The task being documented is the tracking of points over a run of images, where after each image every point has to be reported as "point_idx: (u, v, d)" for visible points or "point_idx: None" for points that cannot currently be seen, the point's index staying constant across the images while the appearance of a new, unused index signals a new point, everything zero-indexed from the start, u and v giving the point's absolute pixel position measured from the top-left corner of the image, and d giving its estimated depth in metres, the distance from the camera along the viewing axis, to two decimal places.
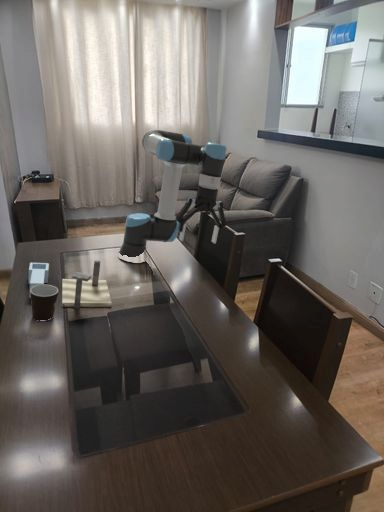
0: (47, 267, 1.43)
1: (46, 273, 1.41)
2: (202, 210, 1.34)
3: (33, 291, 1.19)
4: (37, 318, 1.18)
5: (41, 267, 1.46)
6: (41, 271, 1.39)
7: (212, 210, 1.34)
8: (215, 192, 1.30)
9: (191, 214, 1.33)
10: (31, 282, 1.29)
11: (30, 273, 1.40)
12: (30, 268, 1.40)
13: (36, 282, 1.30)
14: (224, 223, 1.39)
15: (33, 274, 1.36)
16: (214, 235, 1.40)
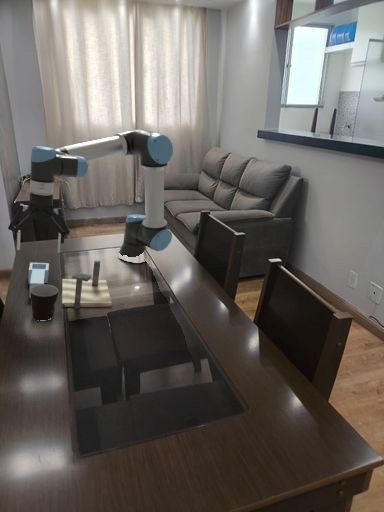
0: (47, 267, 1.43)
1: (46, 273, 1.41)
2: (37, 217, 1.26)
3: (33, 291, 1.19)
4: (37, 318, 1.18)
5: (41, 267, 1.46)
6: (41, 271, 1.39)
7: (48, 217, 1.26)
8: (46, 198, 1.22)
9: (24, 222, 1.25)
10: (31, 282, 1.29)
11: (30, 273, 1.40)
12: (30, 268, 1.40)
13: (36, 282, 1.30)
14: (66, 231, 1.31)
15: (33, 274, 1.36)
16: (58, 244, 1.32)
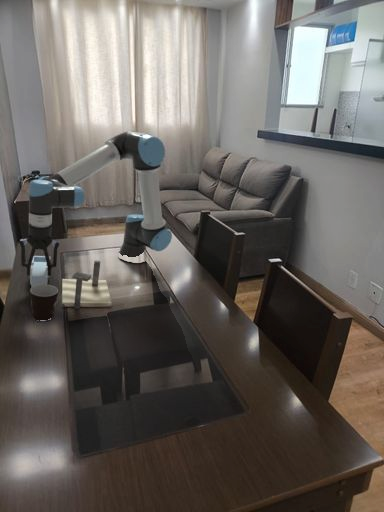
0: None
1: None
2: (36, 248, 1.30)
3: (33, 291, 1.19)
4: (37, 318, 1.18)
5: (43, 260, 1.45)
6: (42, 264, 1.39)
7: (44, 248, 1.30)
8: (45, 230, 1.26)
9: (31, 256, 1.30)
10: (33, 275, 1.29)
11: None
12: None
13: (38, 275, 1.30)
14: (54, 264, 1.34)
15: (34, 267, 1.35)
16: (45, 276, 1.36)
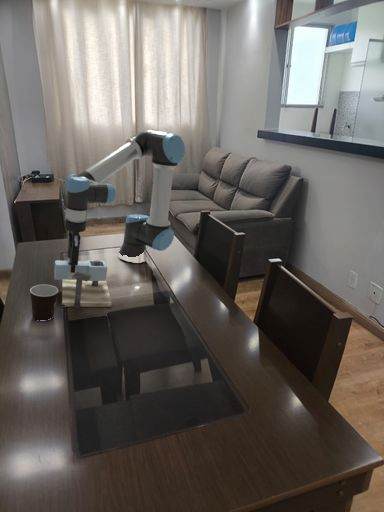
0: (96, 266, 1.40)
1: (88, 269, 1.40)
2: None
3: (33, 291, 1.19)
4: (37, 318, 1.18)
5: None
6: (84, 264, 1.40)
7: (69, 243, 1.34)
8: (66, 223, 1.31)
9: (69, 246, 1.39)
10: (57, 261, 1.38)
11: None
12: (89, 260, 1.45)
13: (57, 262, 1.37)
14: (70, 261, 1.33)
15: None
16: None
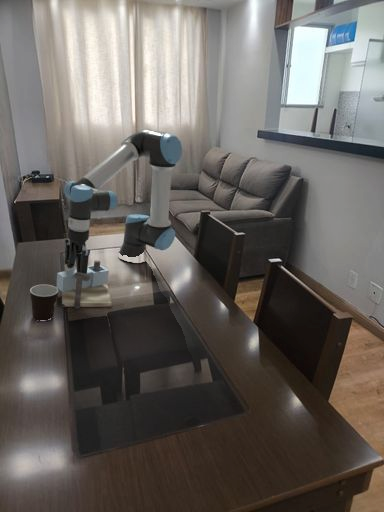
0: (99, 271, 1.42)
1: (92, 275, 1.40)
2: (73, 250, 1.34)
3: (33, 291, 1.19)
4: (37, 318, 1.18)
5: None
6: (87, 271, 1.40)
7: (75, 252, 1.32)
8: (73, 233, 1.28)
9: (69, 256, 1.36)
10: (59, 272, 1.34)
11: None
12: None
13: (62, 274, 1.34)
14: (80, 271, 1.32)
15: (76, 270, 1.39)
16: None
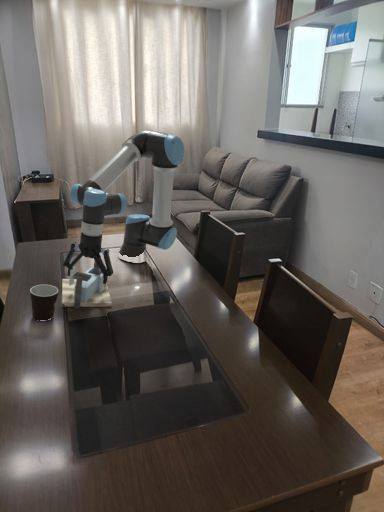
0: (102, 274, 1.44)
1: (99, 279, 1.42)
2: (86, 256, 1.31)
3: (33, 291, 1.19)
4: (37, 318, 1.18)
5: (100, 273, 1.47)
6: (94, 276, 1.40)
7: (94, 257, 1.30)
8: (92, 239, 1.27)
9: (76, 259, 1.32)
10: None
11: None
12: (86, 272, 1.42)
13: None
14: (109, 273, 1.32)
15: None
16: None
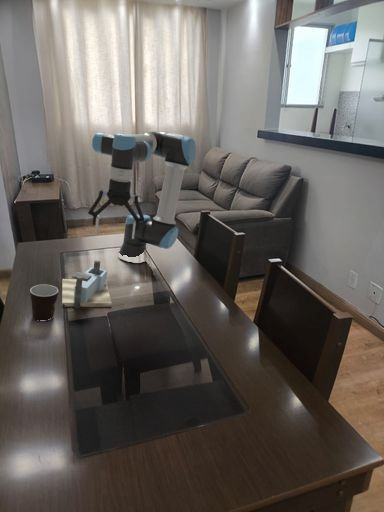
0: (102, 274, 1.44)
1: (99, 279, 1.42)
2: (115, 203, 1.30)
3: (33, 291, 1.19)
4: (37, 318, 1.18)
5: (100, 273, 1.47)
6: (94, 276, 1.40)
7: (125, 204, 1.30)
8: (124, 185, 1.26)
9: (103, 207, 1.30)
10: None
11: None
12: (86, 272, 1.42)
13: None
14: (141, 218, 1.33)
15: None
16: (132, 230, 1.35)
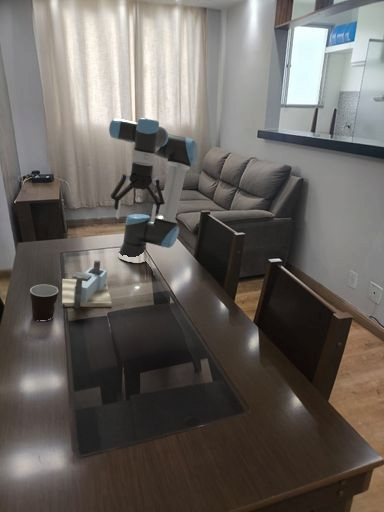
0: (102, 274, 1.44)
1: (99, 279, 1.42)
2: (137, 187, 1.32)
3: (33, 291, 1.19)
4: (37, 318, 1.18)
5: (100, 273, 1.47)
6: (94, 276, 1.40)
7: (148, 187, 1.33)
8: (149, 168, 1.29)
9: (126, 191, 1.31)
10: None
11: None
12: (86, 272, 1.42)
13: None
14: (162, 201, 1.37)
15: None
16: (152, 214, 1.39)
